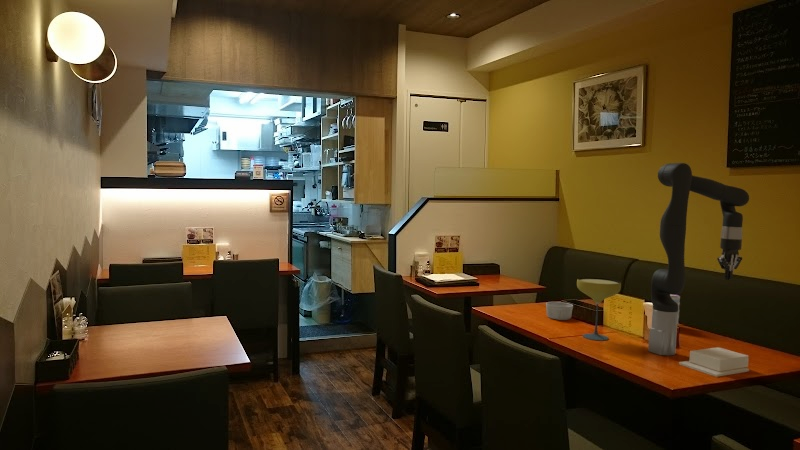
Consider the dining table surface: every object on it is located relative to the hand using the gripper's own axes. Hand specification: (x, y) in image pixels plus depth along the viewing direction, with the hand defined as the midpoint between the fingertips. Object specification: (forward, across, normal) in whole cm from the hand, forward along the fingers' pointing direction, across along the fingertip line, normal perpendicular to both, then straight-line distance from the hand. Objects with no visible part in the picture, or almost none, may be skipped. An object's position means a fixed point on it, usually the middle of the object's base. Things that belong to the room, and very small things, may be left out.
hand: (728, 279), depth 236 cm
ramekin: (+29, -28, +68) cm, 79 cm away
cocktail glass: (+29, -39, +32) cm, 58 cm away
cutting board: (+29, -28, -16) cm, 44 cm away
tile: (+26, -18, -16) cm, 35 cm away
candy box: (+29, +10, +35) cm, 47 cm away
